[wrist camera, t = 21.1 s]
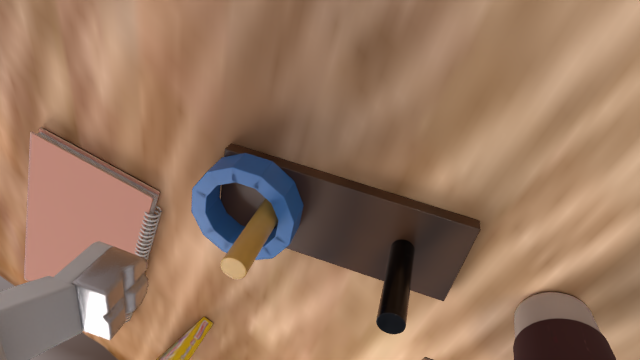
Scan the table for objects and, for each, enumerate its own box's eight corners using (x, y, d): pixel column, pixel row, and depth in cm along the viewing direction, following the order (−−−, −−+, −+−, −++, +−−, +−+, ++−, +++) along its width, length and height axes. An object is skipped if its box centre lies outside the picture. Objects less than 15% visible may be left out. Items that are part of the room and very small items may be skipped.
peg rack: (223, 217, 50) (169, 286, 41) (231, 142, 45) (170, 201, 35) (444, 291, 47) (441, 384, 37) (479, 220, 42) (488, 307, 32)
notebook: (131, 324, 66) (123, 334, 64) (33, 271, 66) (22, 280, 64) (169, 195, 51) (159, 204, 49) (42, 126, 51) (28, 133, 49)
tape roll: (204, 223, 49) (189, 240, 47) (209, 140, 44) (193, 154, 41) (293, 253, 48) (283, 272, 45) (310, 172, 42) (301, 189, 40)
